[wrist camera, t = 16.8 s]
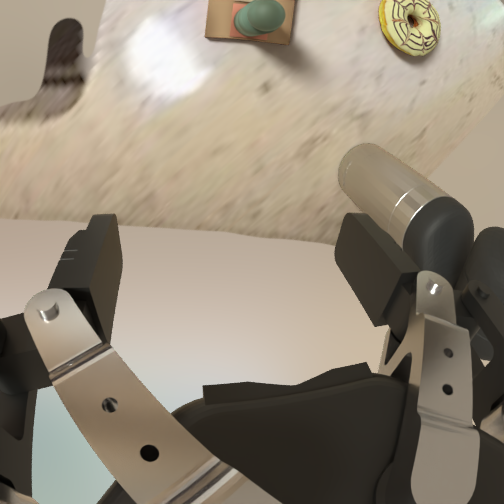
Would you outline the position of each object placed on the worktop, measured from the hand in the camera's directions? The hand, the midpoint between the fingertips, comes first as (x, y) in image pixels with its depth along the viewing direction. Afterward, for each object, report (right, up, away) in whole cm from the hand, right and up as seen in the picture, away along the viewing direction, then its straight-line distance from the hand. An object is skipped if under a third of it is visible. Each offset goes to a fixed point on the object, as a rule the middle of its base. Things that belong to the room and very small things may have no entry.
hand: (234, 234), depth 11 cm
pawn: (0, +26, +18) cm, 31 cm away
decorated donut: (+22, +32, +20) cm, 44 cm away
